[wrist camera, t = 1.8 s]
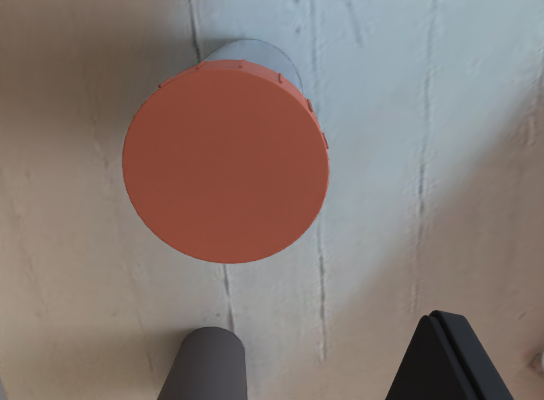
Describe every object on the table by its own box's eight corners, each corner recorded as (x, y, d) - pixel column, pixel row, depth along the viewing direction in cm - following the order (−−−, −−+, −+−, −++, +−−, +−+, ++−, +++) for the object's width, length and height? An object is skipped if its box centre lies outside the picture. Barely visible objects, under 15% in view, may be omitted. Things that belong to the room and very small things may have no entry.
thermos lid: (104, 157, 19) (80, 180, 17) (221, 14, 17) (212, 17, 14) (240, 264, 21) (235, 297, 19) (361, 149, 19) (373, 170, 16)
